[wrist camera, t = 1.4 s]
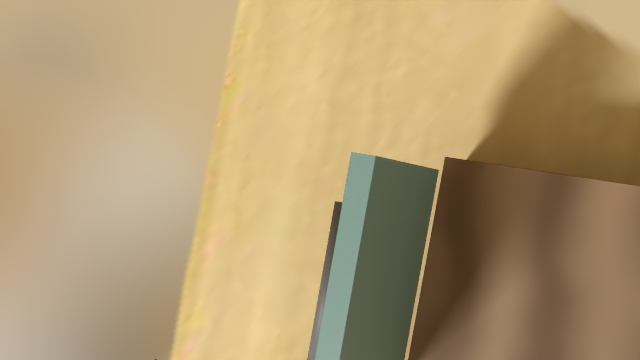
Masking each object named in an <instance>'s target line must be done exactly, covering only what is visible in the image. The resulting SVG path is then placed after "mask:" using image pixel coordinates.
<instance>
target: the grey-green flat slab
mask: <svg viewBox="0 0 640 360" xmlns="http://www.w3.org/2000/svg"><path fill="white" fill-rule="evenodd" d="M438 171H439V170H436V169H432V168H427V167H423V166H418V165H414V164H409V163H405V162H400V161H396V160H391V159H387V158H382V157H378V156H373V155H366V154H360V153H354V152H351V157H350V163H349V168H348V174H347V180H346V185H345V191H344V197H343V202H335V205H334V210H333V216H332V222H331V227H330V233H329V239H328V245H327V250H326V256H325V262H324V267H323V273H322V279H321V285H320V290H319V296H318V302H317V307H316V313H315V319H314V324H313V330H312V336H311V342H310V347H309V353H308V359H307V360H404V357H405V352H406V347H407V341H408V336H409V330H410V325H411V319H412V314H413V308H414V303H415V297H416V292H417V286H418V281H419V275H420V270H421V264H422V259H423V253H424V248H425V242H426V237H427V231H428V226H429V221H430V215H431V210H432V204H433V199H434V193H435V188H436V182H437V177H438Z"/></svg>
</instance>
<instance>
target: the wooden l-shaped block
mask: <svg viewBox="0 0 640 360" xmlns="http://www.w3.org/2000/svg"><path fill="white" fill-rule="evenodd" d="M408 360H640V186H635V185H628V184H621V183H615V182H608V181H601V180H595V179H588V178H582V177H575V176H568V175H562V174H555V173H548V172H542V171H535V170H529V169H522V168H515V167H509V166H502V165H495V164H489V163H482V162H475V161H469V160H462V159H456V158H449V157H445V161H444V166H443V172H442V177H441V183H440V188H439V194H438V199H437V205H436V210H435V216H434V221H433V227H432V232H431V238H430V243H429V249H428V254H427V259H426V265H425V270H424V276H423V281H422V287H421V292H420V298H419V303H418V309H417V314H416V320H415V325H414V331H413V336H412V342H411V347H410V352H409V358H408Z"/></svg>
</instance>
